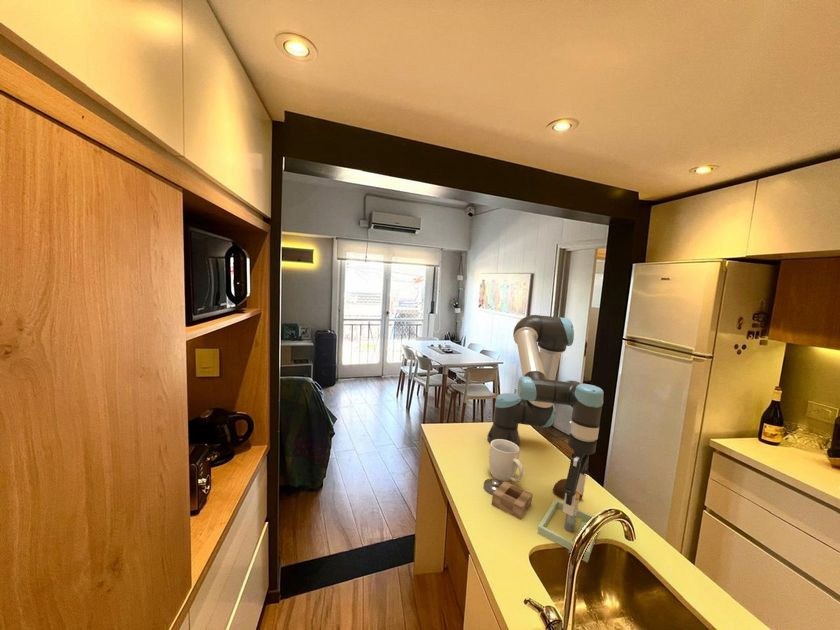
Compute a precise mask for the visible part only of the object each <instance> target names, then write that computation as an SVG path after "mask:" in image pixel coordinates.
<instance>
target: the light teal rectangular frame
mask: <svg viewBox="0 0 840 630" xmlns="http://www.w3.org/2000/svg"><path fill="white" fill-rule="evenodd" d="M563 505H564V501H561V500H558V499H556V498H554V500H553V502H552V503H551V505H550V507H549V508H548V510H547V511H546V513H545V514H544V516H543V518H542V520H541V521H540V523H539V524H538V527H537V534H539V535H540V536H542V537H545V538H546V539H547V540H550V541H552V542H554V543H556V544H558V545H559V546H561V547H564V548H566V549H567V553H568V554H570V553H571V549H572V546H573V544H574V541H575V539H576V537H577V536H578V534H579V533H580V531H581V530H582V528H583V527H584V525H586V523H587V522H588V521H589V520H590V519H591V518H592V517H593V516H594V515H593V514H592V515H591V513H590V514H589V513H588V512H585V511H583V510H581V509H578V511H577V518H578V519H580V520H581V521H580V523H579V525H578V527H577V530H576V533H575V534H574V537H573V539H572V540H571V539H568V538H567V537H565V536H563V535H561V534H559V533H557V532H555V531H553V530H551V529H549V528H547V525H548V523H549V522H550V520H551V518H552V516H553V515H554V513H555V511H556V509H558V510H561V511H563ZM597 536H598V534H597V535H596V536H595V537H594V539H593V540H592V541H591V543H590V545H589V546H588V548H587V550H586V552H585V554H584V557H583V559H581V560H582V561H583V562H585V563H588V562H589V560H590V557H591V554H592V551H593V548H594V545H595V542H596V540H597Z"/></svg>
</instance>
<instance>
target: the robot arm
mask: <svg viewBox="0 0 840 630" xmlns="http://www.w3.org/2000/svg"><path fill="white" fill-rule="evenodd" d="M512 335H513V336H512V337H513V341H514V342H515V344H516V345H517V351H518V357H519V361H520V368H521V374H522V376H520V377H519V379H518V381H517V382H518V383H517V393H515V392H504V393H500V394H498V395H497V396H496V398H495V402H494V412H493V418H492V421H493V422H492V425H491V427H490V429H489V431H488V434H487V438H486V439H487V441H488V443H489V445H490V444H491V441H493V440H496V439H503V440H508V441H511V442H513V443H515V444H516V445H517V446H518V447H519V448H520V446H521V444H520V443H521V440H520V434H519V425H524V426H525V425H527V426H533V427H534V426H535V427H539V428H549V427H551V426H552V425H553V424H554V421H555V418H556V413H557V410H556V409H557V408H556V405H562V406H570V407H571V408H572V413H571V414H572V415H571V421H569V422H568V424H569V425H570V428H569V429H570V430H569V434H568V441H567V445H568V447H569V448H570V449H571V450H573V453H572V454H571V457H570V461H569V462H570V463H569V468H568V472H567V477H566V479H567V481H566V485H565V489H564V488H563V491H564V493H565V498H563V503H564V505H563V510H562V513H565V515H566V514H568V515H571V516H573V511H574V504H575V498H576V494H575V492H576V491H577V492H578V493H579V494H581V495H583V496H584V492H585V491H584V490H585V485H586V477H587V476H588V475H589V474H590V471H589V470H588V469H589V455H593V454H595V453H596V448H597V440H598V439H599V432H600V423H601V416H602V411H603V404H604V390H603V389H602V388H601V387H599V386H597V385H595V384H594V385H593V384H589V383H588V384H587V383H580V382H579V381H577V380H575V379H568V380H565V381H560V380H556V377H557V376H556V375H557V374H558V373H557V371H558V367H559V363H560V360H561V359H560V358H561V354H562V353H565V352H566V350H567V347H571V346H572V344H573V343H574V339H575V331H574V325H573V322H572V321H571V319H569V318H566V317H561V316H551V315H540V314H531V315H527V316H525V317H523V318H521V319H520V320H519V321H518V322H517V323H516V325H515V326H514V328H513V334H512ZM555 404H556V405H555Z"/></svg>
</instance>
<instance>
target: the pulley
mask: <svg viewBox="0 0 840 630" xmlns="http://www.w3.org/2000/svg"><path fill="white" fill-rule="evenodd" d="M503 482H504V481H500V480H498V479H496V478H487V479H485V480H484V482H483V490H484V491H485V492H486V493H487V494H489V495H491V496H493V493H494V492H495V491H496V490H497V489H498V488H499V486H500V485H501V484H502V483H503Z"/></svg>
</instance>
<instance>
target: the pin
mask: <svg viewBox="0 0 840 630" xmlns="http://www.w3.org/2000/svg"><path fill="white" fill-rule="evenodd" d="M575 494H576V498H575V504H574V511H573V516H571V515H568V514H566V513H565V516H564V517H565V519H564V526H563V528H564V530H565V531H566V532H568V533H575V530H576V526H577V525H576V523H577V518H578V517H577V511H578V508H579V503H580V500H579V497H580V494H579V493H578V492H577V491H576V492H575Z"/></svg>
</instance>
